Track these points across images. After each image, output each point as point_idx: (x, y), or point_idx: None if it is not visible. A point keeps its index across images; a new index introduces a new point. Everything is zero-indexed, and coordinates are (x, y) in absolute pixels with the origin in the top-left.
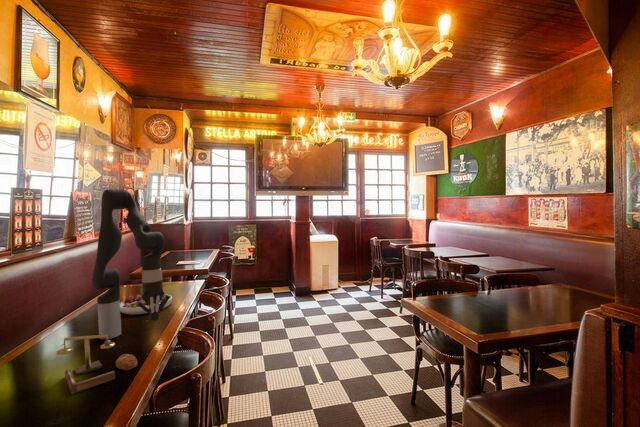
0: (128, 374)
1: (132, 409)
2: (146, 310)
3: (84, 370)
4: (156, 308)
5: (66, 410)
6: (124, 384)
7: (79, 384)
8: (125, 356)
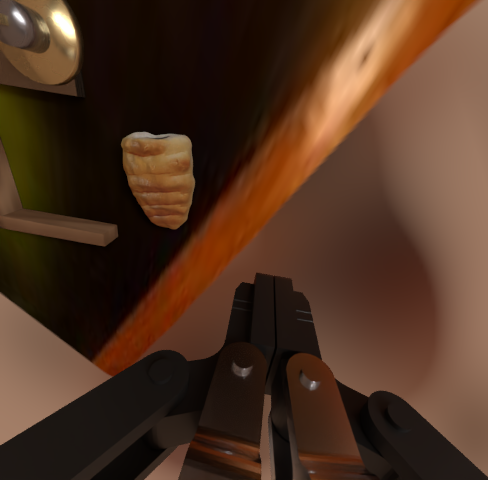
0: (153, 243)
1: None
2: (136, 440)
3: (14, 84)
4: (282, 464)
5: (21, 281)
6: (133, 284)
7: (14, 229)
8: (148, 168)
